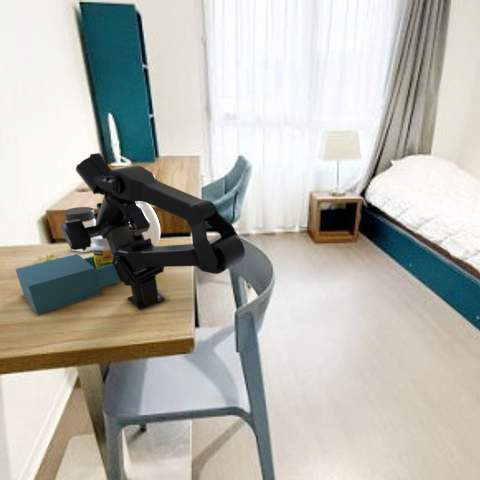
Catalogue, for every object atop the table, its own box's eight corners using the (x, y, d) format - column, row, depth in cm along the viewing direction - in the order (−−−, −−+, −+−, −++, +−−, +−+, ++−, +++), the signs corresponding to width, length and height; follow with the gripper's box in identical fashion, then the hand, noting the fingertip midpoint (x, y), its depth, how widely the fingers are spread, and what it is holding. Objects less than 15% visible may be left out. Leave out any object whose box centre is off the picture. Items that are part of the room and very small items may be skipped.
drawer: (132, 262, 103) (129, 245, 101) (149, 274, 97) (146, 255, 94) (68, 280, 93) (63, 261, 91) (83, 295, 86) (78, 275, 84)
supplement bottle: (94, 279, 91) (86, 240, 87) (101, 269, 96) (93, 232, 92) (118, 277, 92) (110, 239, 88) (123, 268, 97) (116, 232, 93)
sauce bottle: (132, 247, 116) (122, 191, 108) (155, 242, 121) (147, 187, 113) (143, 255, 111) (133, 196, 103) (166, 248, 115) (159, 191, 107)
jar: (108, 244, 118) (100, 207, 113) (90, 253, 111) (82, 215, 106) (84, 241, 120) (76, 205, 115) (65, 250, 113) (56, 212, 108)
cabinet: (83, 278, 96) (77, 253, 93) (100, 294, 89) (94, 267, 85) (24, 295, 88) (15, 269, 84) (37, 314, 80) (28, 286, 77)
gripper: (88, 252, 73) (77, 284, 84) (169, 230, 85) (150, 260, 97) (63, 206, 74) (56, 243, 86) (146, 191, 87) (130, 225, 98)
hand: (101, 244), depth 91 cm, fingers open, 9 cm apart
